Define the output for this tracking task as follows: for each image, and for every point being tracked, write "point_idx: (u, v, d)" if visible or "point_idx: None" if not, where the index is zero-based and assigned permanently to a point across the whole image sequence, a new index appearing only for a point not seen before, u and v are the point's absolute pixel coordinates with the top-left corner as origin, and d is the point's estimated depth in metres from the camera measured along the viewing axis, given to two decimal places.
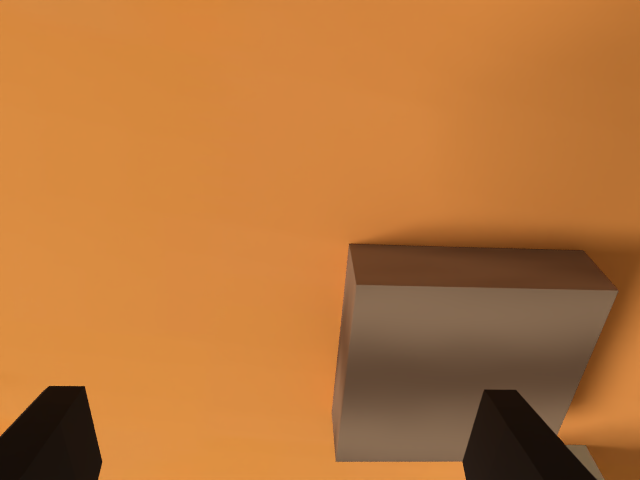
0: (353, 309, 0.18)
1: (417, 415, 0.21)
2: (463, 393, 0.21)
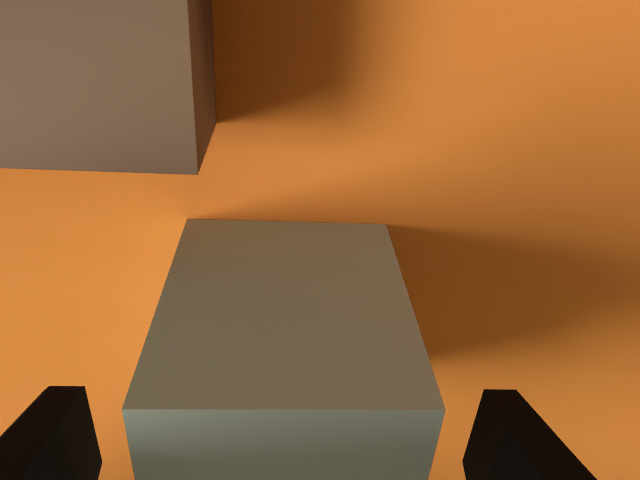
0: None
1: None
2: None
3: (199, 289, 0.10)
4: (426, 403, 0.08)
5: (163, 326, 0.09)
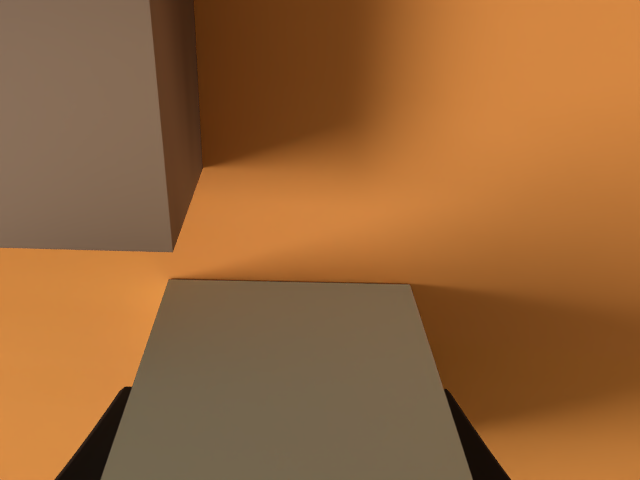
0: None
1: None
2: None
3: (177, 390, 0.08)
4: None
5: (127, 453, 0.07)
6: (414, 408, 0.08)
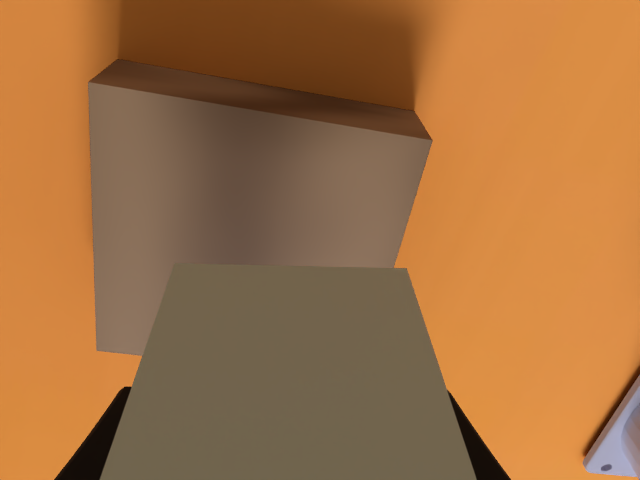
0: (130, 352, 0.18)
1: None
2: (263, 255, 0.16)
3: (184, 363, 0.08)
4: None
5: (137, 418, 0.07)
6: (410, 380, 0.08)
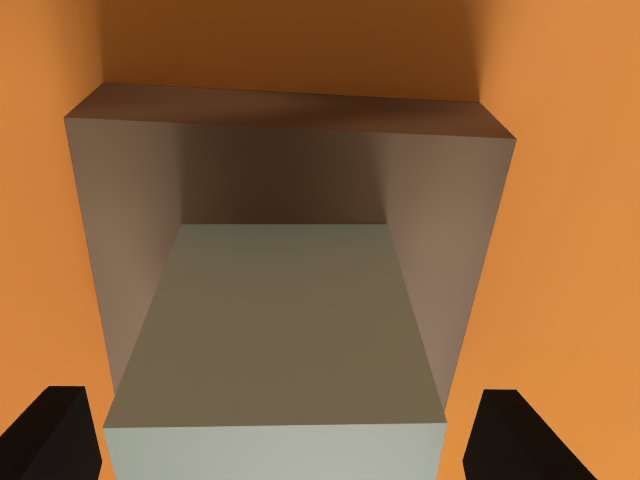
0: None
1: None
2: None
3: (190, 298, 0.09)
4: (426, 416, 0.07)
5: (151, 338, 0.08)
6: (383, 307, 0.09)
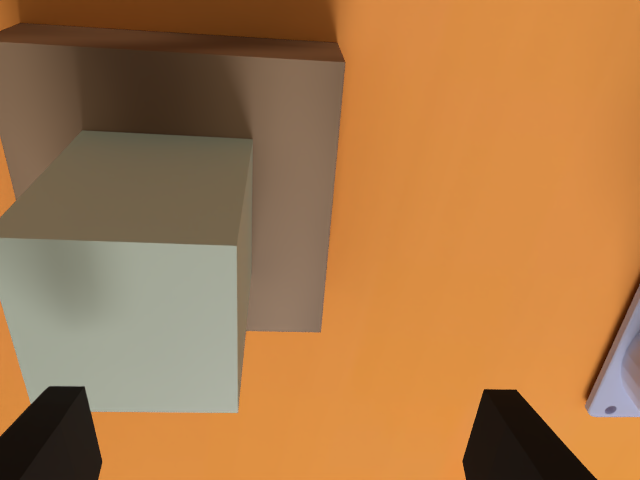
0: None
1: None
2: None
3: (72, 173, 0.12)
4: (223, 242, 0.10)
5: (33, 193, 0.11)
6: (222, 186, 0.12)
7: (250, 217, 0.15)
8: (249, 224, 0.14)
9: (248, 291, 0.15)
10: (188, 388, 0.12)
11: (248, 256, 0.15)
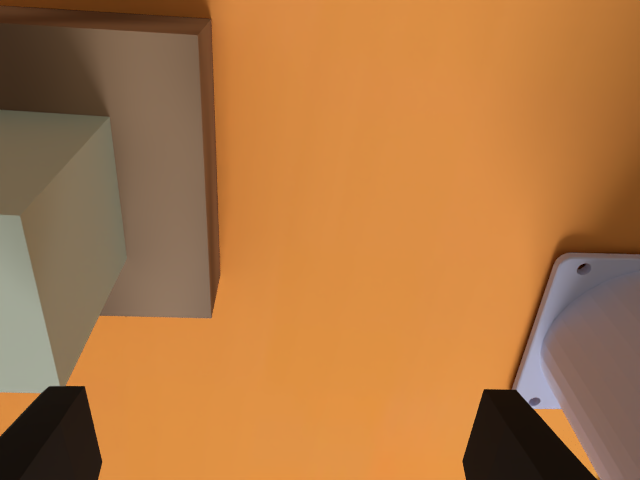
0: None
1: None
2: None
3: None
4: (8, 212, 0.10)
5: None
6: (45, 159, 0.12)
7: (110, 197, 0.15)
8: (103, 203, 0.14)
9: (109, 273, 0.15)
10: (3, 367, 0.11)
11: (103, 236, 0.14)
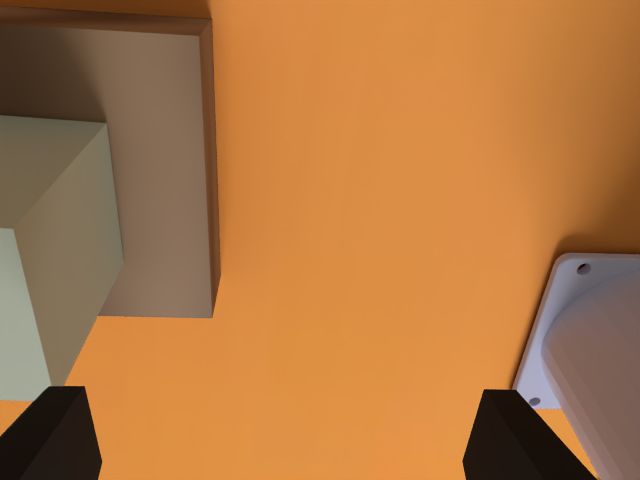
0: None
1: None
2: None
3: None
4: (1, 224, 0.10)
5: None
6: (40, 168, 0.12)
7: (106, 203, 0.15)
8: (100, 210, 0.14)
9: (106, 279, 0.15)
10: None
11: (99, 243, 0.14)
